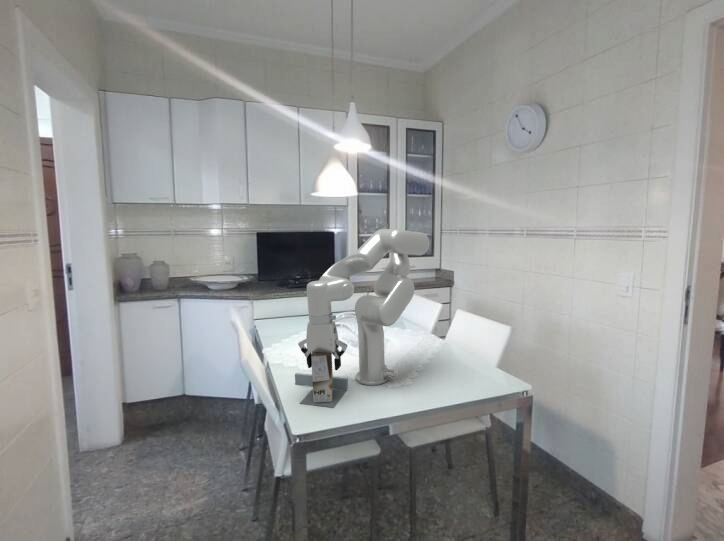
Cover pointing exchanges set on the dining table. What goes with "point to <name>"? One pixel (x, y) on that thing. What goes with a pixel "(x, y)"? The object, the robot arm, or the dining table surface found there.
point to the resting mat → (335, 399)
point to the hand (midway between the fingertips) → (324, 367)
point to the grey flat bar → (307, 381)
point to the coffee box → (322, 377)
